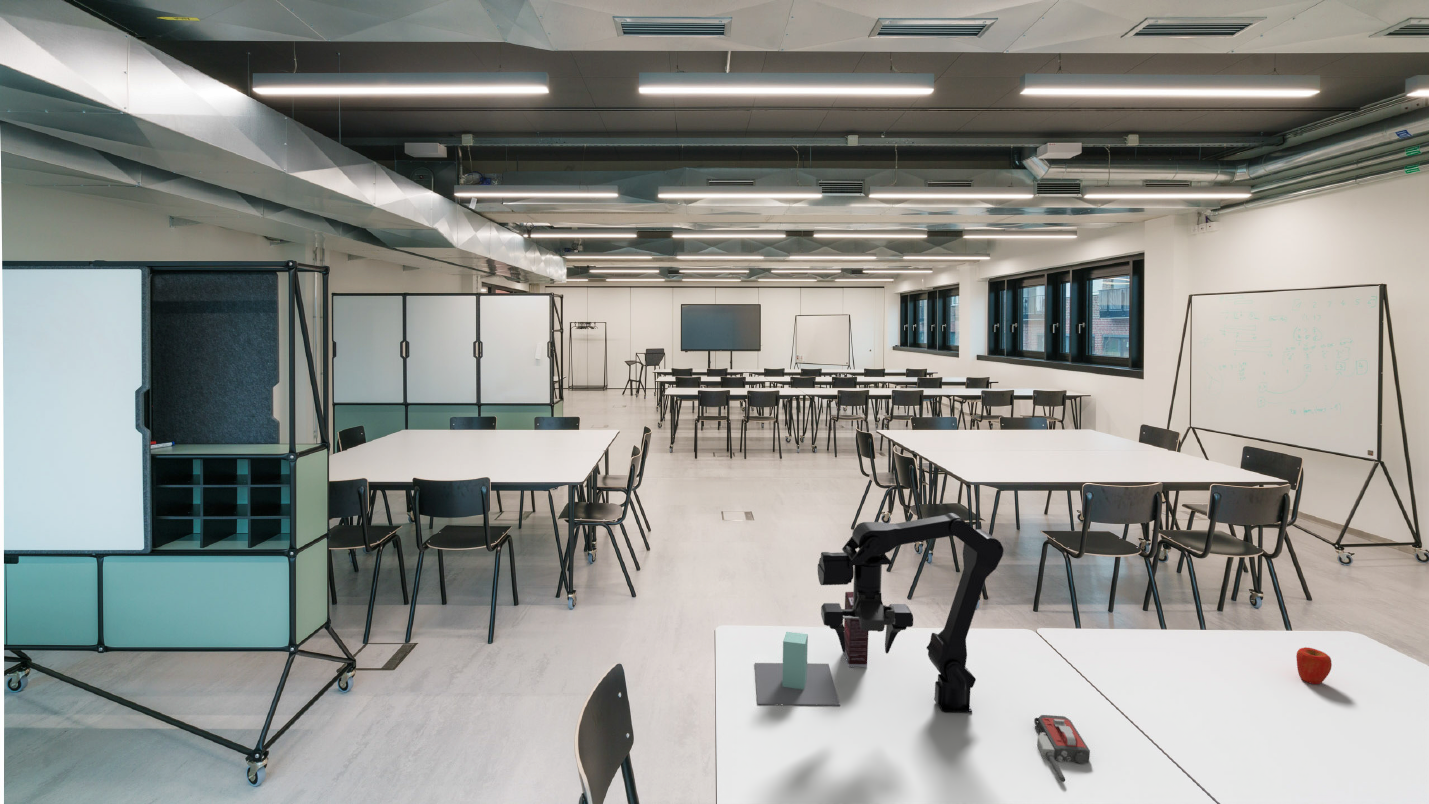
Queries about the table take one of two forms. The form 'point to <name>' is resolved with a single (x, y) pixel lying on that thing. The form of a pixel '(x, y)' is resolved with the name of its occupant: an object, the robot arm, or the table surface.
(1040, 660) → the table surface
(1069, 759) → the walkie-talkie
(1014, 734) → the table surface
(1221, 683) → the table surface
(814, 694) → the charcoal mat
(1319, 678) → the apple
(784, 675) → the teal block
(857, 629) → the supplement box
